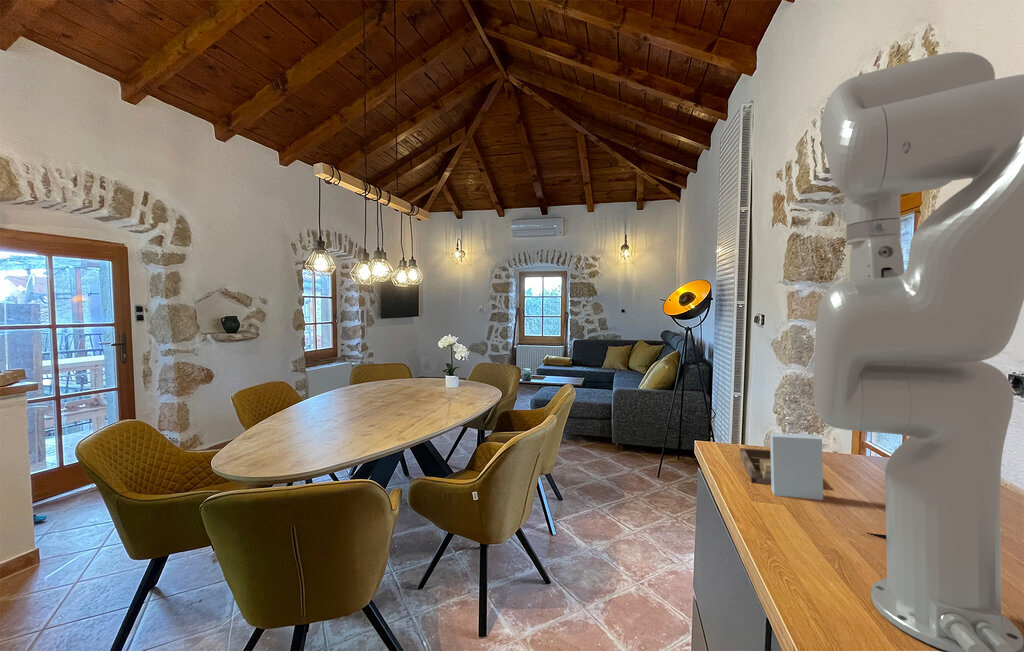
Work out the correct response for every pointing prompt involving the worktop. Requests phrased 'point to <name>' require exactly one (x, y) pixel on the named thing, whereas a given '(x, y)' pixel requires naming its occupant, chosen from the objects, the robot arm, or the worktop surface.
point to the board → (796, 466)
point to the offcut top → (765, 466)
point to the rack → (755, 463)
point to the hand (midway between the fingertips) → (874, 327)
